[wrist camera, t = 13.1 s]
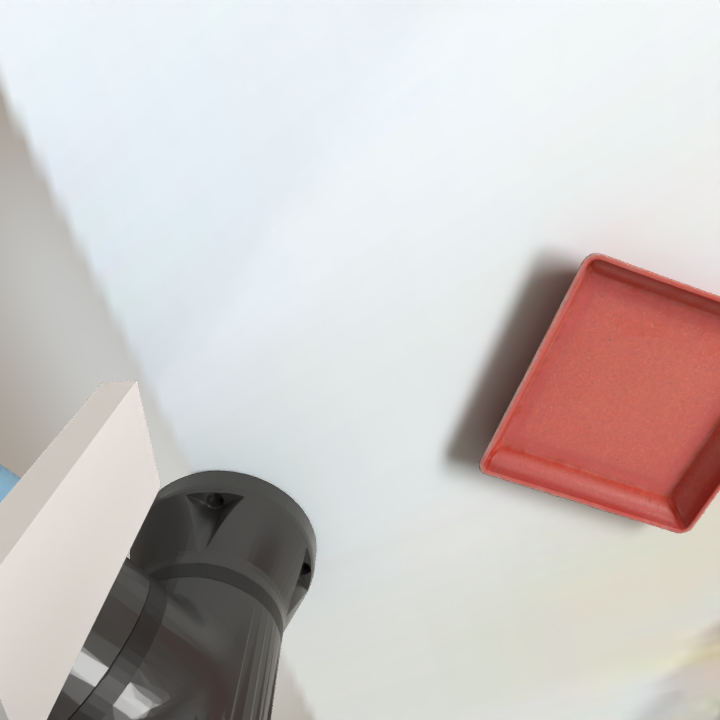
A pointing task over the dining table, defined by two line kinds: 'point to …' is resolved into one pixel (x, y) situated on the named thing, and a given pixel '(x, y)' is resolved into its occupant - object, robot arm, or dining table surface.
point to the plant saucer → (620, 399)
